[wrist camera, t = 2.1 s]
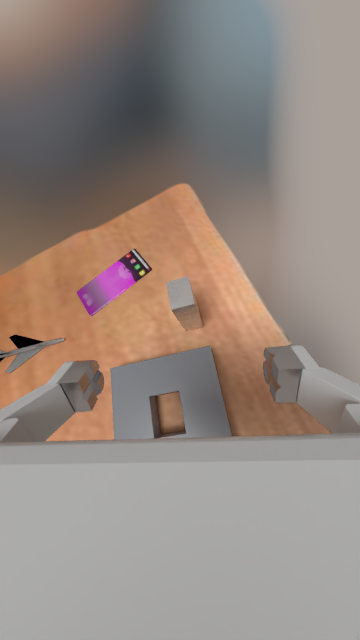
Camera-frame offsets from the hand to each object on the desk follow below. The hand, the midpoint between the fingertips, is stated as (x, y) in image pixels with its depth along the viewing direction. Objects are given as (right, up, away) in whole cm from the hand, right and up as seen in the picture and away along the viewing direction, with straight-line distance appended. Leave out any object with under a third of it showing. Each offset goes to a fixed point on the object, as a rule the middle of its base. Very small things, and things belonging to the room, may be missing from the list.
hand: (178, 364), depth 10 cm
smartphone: (-13, +10, +32) cm, 36 cm away
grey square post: (+2, +2, +26) cm, 26 cm away
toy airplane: (-32, -4, +32) cm, 45 cm away
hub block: (-1, -12, +22) cm, 25 cm away
